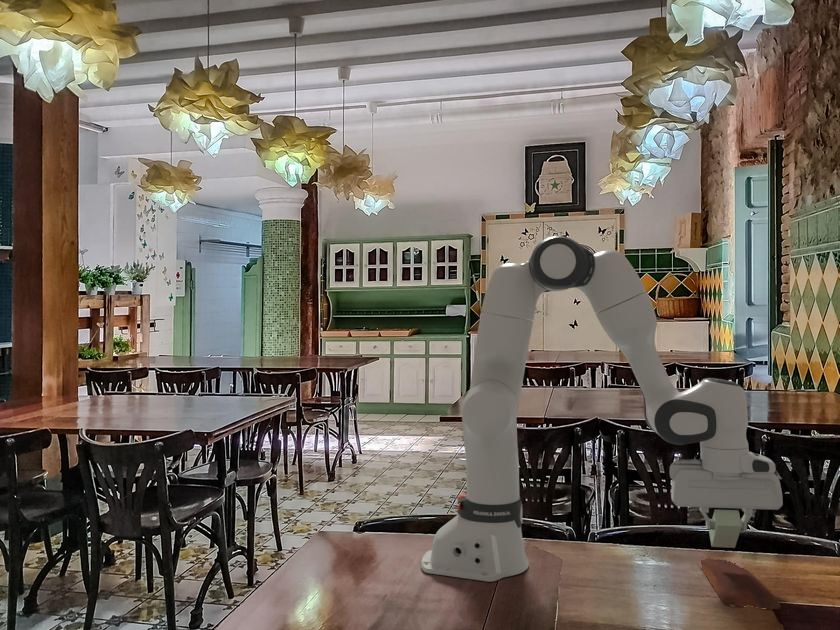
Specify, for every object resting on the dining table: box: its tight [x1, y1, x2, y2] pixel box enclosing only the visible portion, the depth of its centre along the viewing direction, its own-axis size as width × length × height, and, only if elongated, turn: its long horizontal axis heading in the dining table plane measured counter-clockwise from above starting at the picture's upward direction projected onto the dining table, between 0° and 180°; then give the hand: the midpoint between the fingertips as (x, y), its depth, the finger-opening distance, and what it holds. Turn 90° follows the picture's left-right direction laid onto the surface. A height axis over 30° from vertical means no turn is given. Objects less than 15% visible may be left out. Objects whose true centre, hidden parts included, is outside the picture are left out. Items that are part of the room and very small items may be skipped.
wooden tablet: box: [701, 559, 782, 611], centre depth 135 cm, size 27×10×2 cm, turn 170°
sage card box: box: [708, 508, 742, 549], centre depth 138 cm, size 4×4×9 cm
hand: (726, 529), depth 137 cm, fingers closed on sage card box, 4 cm apart
